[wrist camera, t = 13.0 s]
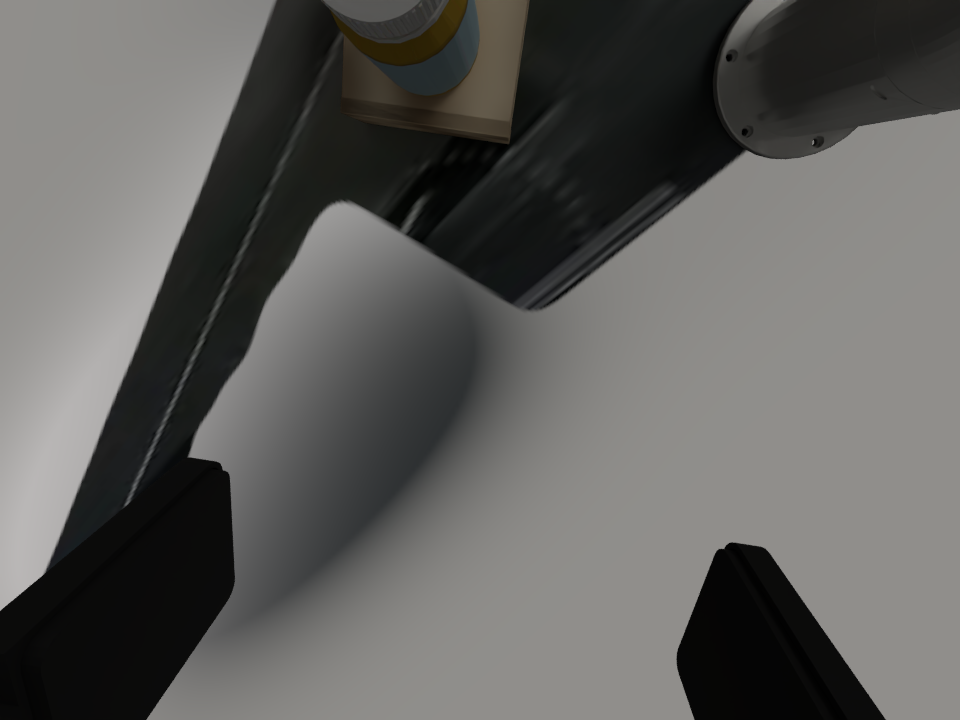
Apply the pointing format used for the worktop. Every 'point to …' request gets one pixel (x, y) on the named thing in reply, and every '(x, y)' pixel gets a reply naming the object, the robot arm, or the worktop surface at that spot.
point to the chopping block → (462, 111)
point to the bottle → (413, 39)
